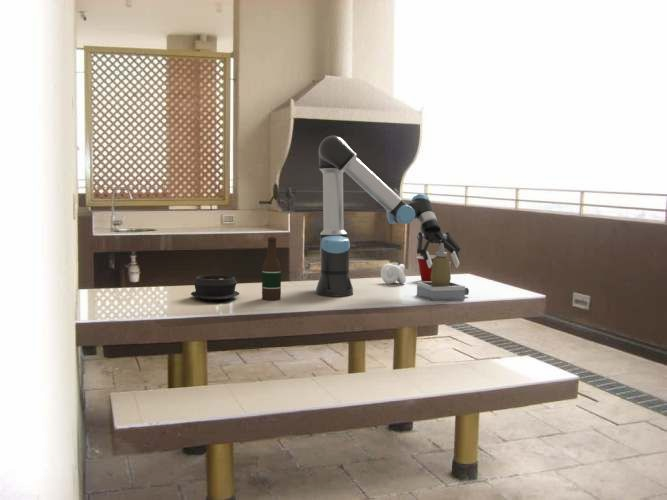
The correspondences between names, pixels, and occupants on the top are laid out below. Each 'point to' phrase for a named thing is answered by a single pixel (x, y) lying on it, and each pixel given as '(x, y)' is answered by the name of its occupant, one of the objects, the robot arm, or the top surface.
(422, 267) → the plastic cup
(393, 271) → the white plush toy
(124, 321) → the top surface
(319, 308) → the top surface
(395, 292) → the top surface
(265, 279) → the beer bottle
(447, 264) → the squeeze bottle
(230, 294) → the casserole
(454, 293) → the box
